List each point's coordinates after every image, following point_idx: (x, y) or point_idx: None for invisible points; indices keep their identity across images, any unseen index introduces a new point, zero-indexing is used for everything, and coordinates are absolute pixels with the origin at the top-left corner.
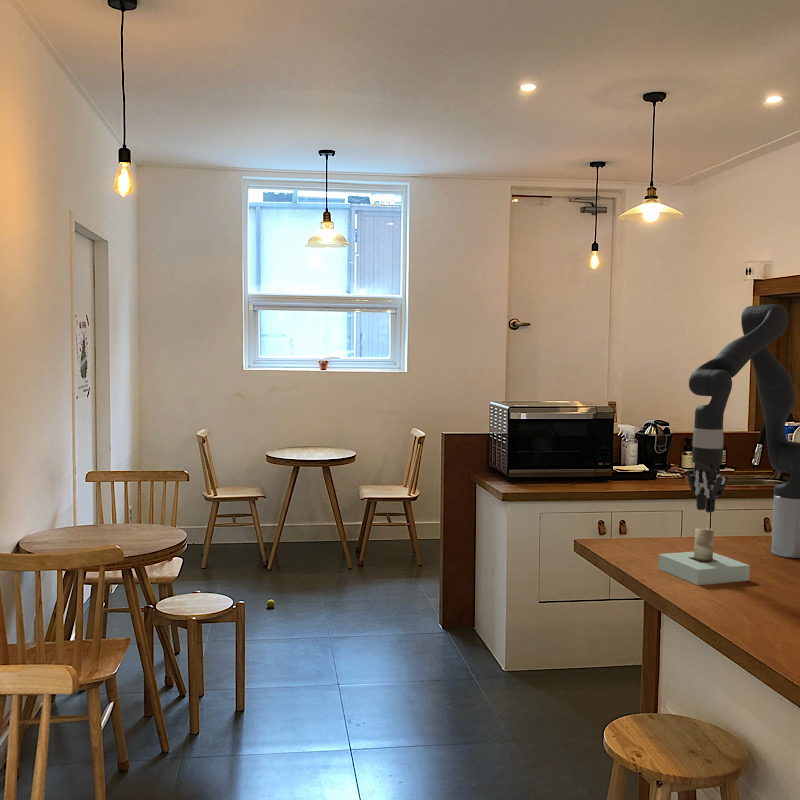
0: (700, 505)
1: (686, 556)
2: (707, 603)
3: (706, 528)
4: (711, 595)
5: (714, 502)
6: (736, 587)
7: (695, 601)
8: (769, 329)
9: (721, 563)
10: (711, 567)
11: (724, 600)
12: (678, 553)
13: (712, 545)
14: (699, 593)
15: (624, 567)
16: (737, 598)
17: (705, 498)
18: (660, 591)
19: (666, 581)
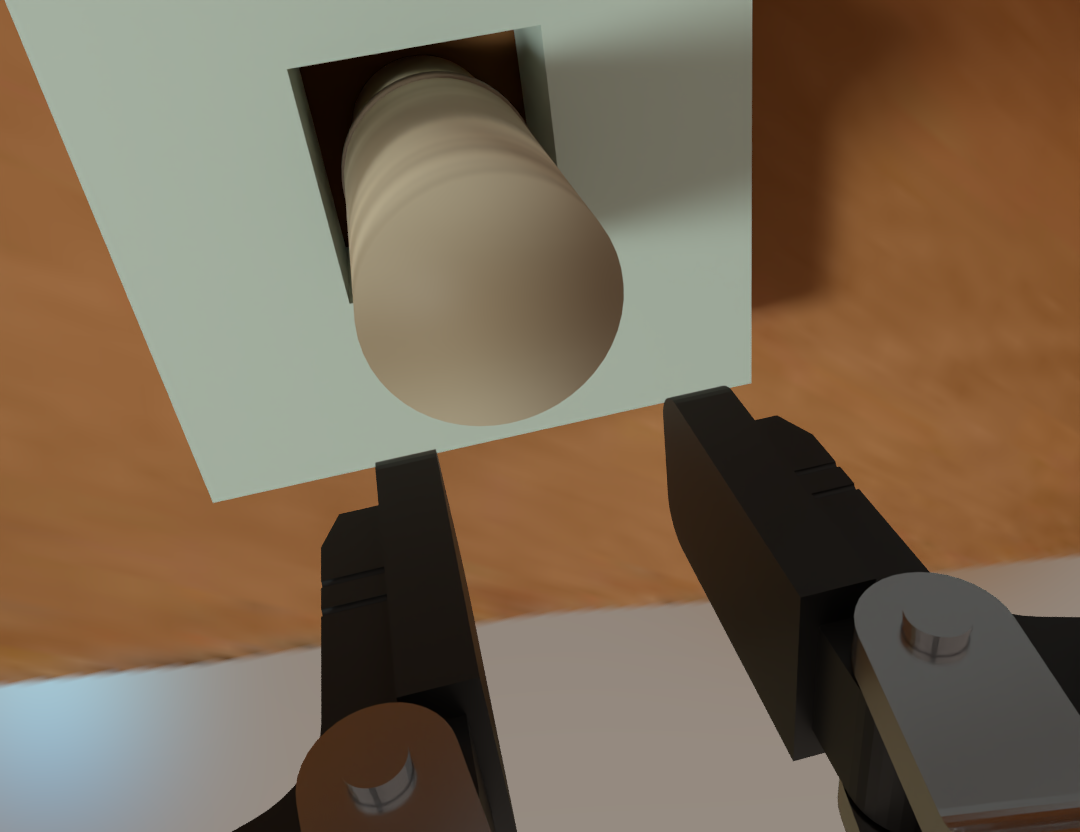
0: (470, 604)
1: (302, 288)
2: (1005, 415)
3: (403, 235)
4: (900, 325)
5: (889, 539)
6: (809, 22)
7: (951, 462)
8: None
9: (613, 52)
10: (721, 239)
11: (1008, 293)
12: (170, 317)
13: (554, 163)
14: (841, 379)
15: (174, 626)
16: (1015, 183)
17: (465, 622)
18: None
19: (555, 476)
